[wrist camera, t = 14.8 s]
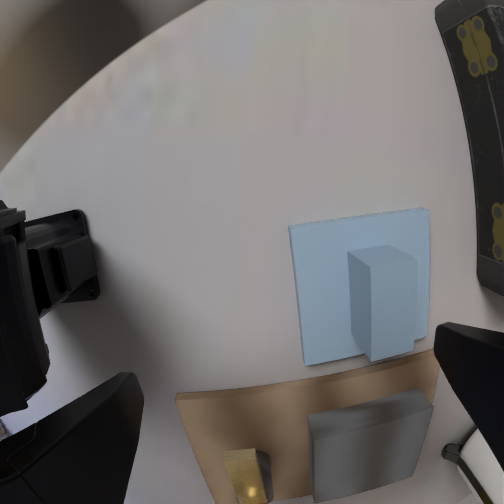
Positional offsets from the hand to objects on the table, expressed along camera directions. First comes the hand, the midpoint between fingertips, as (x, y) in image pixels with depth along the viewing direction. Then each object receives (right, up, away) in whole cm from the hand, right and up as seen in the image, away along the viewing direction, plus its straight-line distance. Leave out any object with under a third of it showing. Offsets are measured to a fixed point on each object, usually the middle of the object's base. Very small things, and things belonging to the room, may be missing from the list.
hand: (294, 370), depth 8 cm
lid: (+7, +1, +14) cm, 15 cm away
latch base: (+5, -14, +17) cm, 22 cm away
